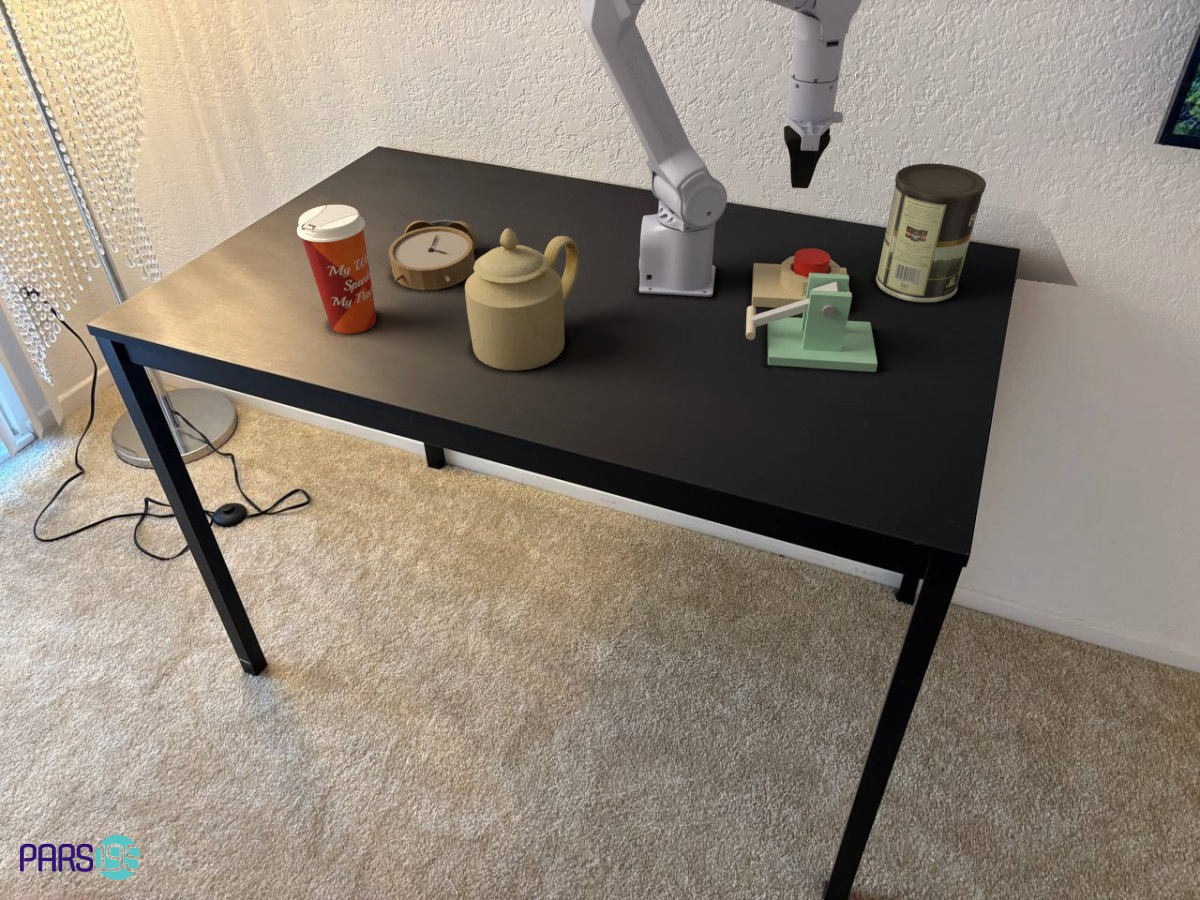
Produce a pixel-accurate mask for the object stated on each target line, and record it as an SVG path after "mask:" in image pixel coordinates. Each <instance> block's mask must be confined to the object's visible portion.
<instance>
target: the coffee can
mask: <svg viewBox="0 0 1200 900" xmlns="http://www.w3.org/2000/svg"><path fill="white" fill-rule="evenodd" d="M894 182H895V185H894V189H893V193H892V194H893V195H892V199H891V205H890V209H889V215H888V219H887V224H886V228H885V235H884V238H883V245H882V250H881V254H880V259H879V264H878V268H877V274H876V276H875V282H876V284H877V286H878V287H879V289H880V290H881V291H883V292H884V293H886V294H887V295H889V296H891V297H895V298H897V299H900V300H903V301H906V302H907V301H908V302H913V303H921V304H923V303H938V302H943V301H946V300H948V299H951V298H952V297H953V296H954V295H956V293H957V291H958V285H959V282H960V278H961V274H962V271H963V267H964V262H965V259H966V255H967V252H968V248H969V245H970V240H971V237H972V233H973V230H974V227H975V226H974V225H975V223H976V219H977V217H978V216H977V215H978V212H979V208H980V205H981V201H982V197H983V194H984V192H985V190H986V187H987V183H986V180H985V178H984V177H982V176H981V175H980V174H979V173H978V172H974V171H972V170H970V169H967V168H964V167H961V166H957V165H952V164H945V163H931V162H928V163H917V164H912V165H908V166H904V167H902V168H901V169H899V170H898V171H897V172H896V174H895V178H894Z"/></svg>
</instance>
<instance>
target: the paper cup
mask: <svg viewBox="0 0 1200 900" xmlns="http://www.w3.org/2000/svg"><path fill="white" fill-rule="evenodd" d="M365 227H366V221H365V219H364V218H363V216H361V215H360V212H359V210H357V209H356V208H355V207H353V206H350V205H346V204H326V205H320V206H316V207H313V208H310V209H308V210H306V211H305V212H303V213H302V214H301V215H300V216H299V218H298V226H297V229H296V233H297V235H298V236H299V238H301V240H302V244H303V247H304V249H305V253H306V256H307V258H308V262H309V265H310V269H311V271H312V274H313V277H314V281H315V284H316V287H317V290H318V294H319V296H320V299H321V303H322V305H323V308H324V311H325V315H326V317H327V320H328V323H329V325H330V327H331V330H333V331H334V332H336V333H339V334H343V335H344V334H346V335H351V334H358V333H362V332H365V331H367V330H369V329H370V328H372V327H373V326H374V325H375V323H376V320H377V318H376V317H377V316H376V306H375V300H374V299H375V298H374V293H373V286H372V285H373V284H372V278H371V271H370V266H369V264H370V263H369V258H368V250H367V244H366V237H365V230H364V228H365Z"/></svg>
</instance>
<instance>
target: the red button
mask: <svg viewBox="0 0 1200 900" xmlns="http://www.w3.org/2000/svg"><path fill="white" fill-rule="evenodd" d="M794 256H795V257H794V264H793V272H794V273H796V274H798V275H801V276H804V277H809V273H821V274H828V270H829V264H830V259H831V255H830V254H829V252H827V251H825V250H822V249H819V248H812V247H811V248H802V249H799V250H797V251H796V252H795V253H794Z"/></svg>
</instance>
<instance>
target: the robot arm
mask: <svg viewBox="0 0 1200 900" xmlns="http://www.w3.org/2000/svg"><path fill="white" fill-rule="evenodd" d="M765 1H767V2H769V3H772V4H775V5H777V6H780V7H782V8H785V9H789V10H790V11H794V12H795V13H796V16H797V17H796V22H795V32H794V40H793V48H792V49H793V50H792V56H791V57H792V58H791V67H790V75H789V83H788V91H787V98H786V100H787V101H786V109H785V110H784V113H783V122H785V123H786V124H787V125H785V126H784V127H783V140H784V143H785V145H786V148H787V151H788V156H789V169H790V183H791V188H792V189H809V188H810V185H811V183H812V180H813V177H814V174H815V171H816V168H817V165H818V163H819V160H820V158H821V157H822V155H823V153H824V152H825V150H826V149H827V148H828V146H829V144H830V142H831V128H830V127H831V126H832V125H833V124H840V123H843V120H844V114H843V112H841V111H835V106H836V101H837V100H836V99H837V93H838V88H839V87H838V86H839V79H840V73H841V68H842V59H843V53H844V46H845V40H846V36H847V34H849V32H850V31H849V30H850V24H851V22H852V19H853V18H854V16H855V15H856V14H857V12H858V10H859V8H860V6H861V4H862V1H863V0H765ZM645 2H646V0H580V22H581V25H582V28H583V29H584V31H585V33H586V35H587V38H588V39H589V41H590V43H591V45H592V47H593V49H594V52H595V53H596V56H597V57H598V59H599V62H600V63H601V65H602V67H603V69H604V71H605V73H606V76H607V77H608V79H609V81H610V83H611V85H612V88H613V89H614V91H615V93H616V95H617V97H618V99H619V101H620V104H621V106H622V107H623V110H624V111H625V113H626V115H627V117H628V119H629V121H630V123H631V125H632V128H633V129H634V131H635V133H636V135H637V137H638V139H639V142H640V143H641V145H642V147H643V149H644V151H645V153H646V154H647V157H646V160H645V163H646V166H647V167H648V170H649V174H650V189H651V192H652V194H653V195H654V197H655V198H656V199H657V200H658V210H657V213H655V214H647V215H643V216H642V220H641V228H640V229H641V230H640V239H639V241H640V243H639V244H640V245H639V259H638V271H639V287H638V292H639V294H640V293H641V294H649V295H650V294H652V295H653V294H654V295H670V296H685V297H687V296H688V297H702V298H703V297H705V298H710V297H713V295H714V286H715V276H716V266H715V265H713V257H714V247H715V230H716V225H717V224H716V223H717V221H718V220H720V218H721V217H722V215H724V213H725V210H726V208H727V204H728V193H727V189H726V187H725V185H724V184H723V183H722V182H721V181H720V180H719V179H717V178H715V177H714V176H712V174H711V173H710V171H709V169H708V166H707V165H706V163H705V162H704V161H703V159H702V158H701V157H700V155H699V154H698V153H697V151H696V150H695V148H694V147H693V146H692V144H691V142H690V140H689V138H688V135H687V133H686V131H685V129H684V127H683V125H682V122H681V121H680V118H679V116H678V113H677V111H676V109H675V107H674V105H673V102H672V101H671V98H670V96H669V93H668V92H667V89H666V87H665V85H664V83H663V81H662V79H661V76H660V74H659V72H658V69H657V67H656V65H655V63H654V61H653V59H652V57H651V55H650V53H649V50H648V48H647V46H646V43H645V41H644V39H643V37H642V34H641V33H640V31H639V28H638V26H637V23H636V21H637V17H638V16H639V12H640V10H641V8H642V5H643V4H645Z"/></svg>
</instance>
